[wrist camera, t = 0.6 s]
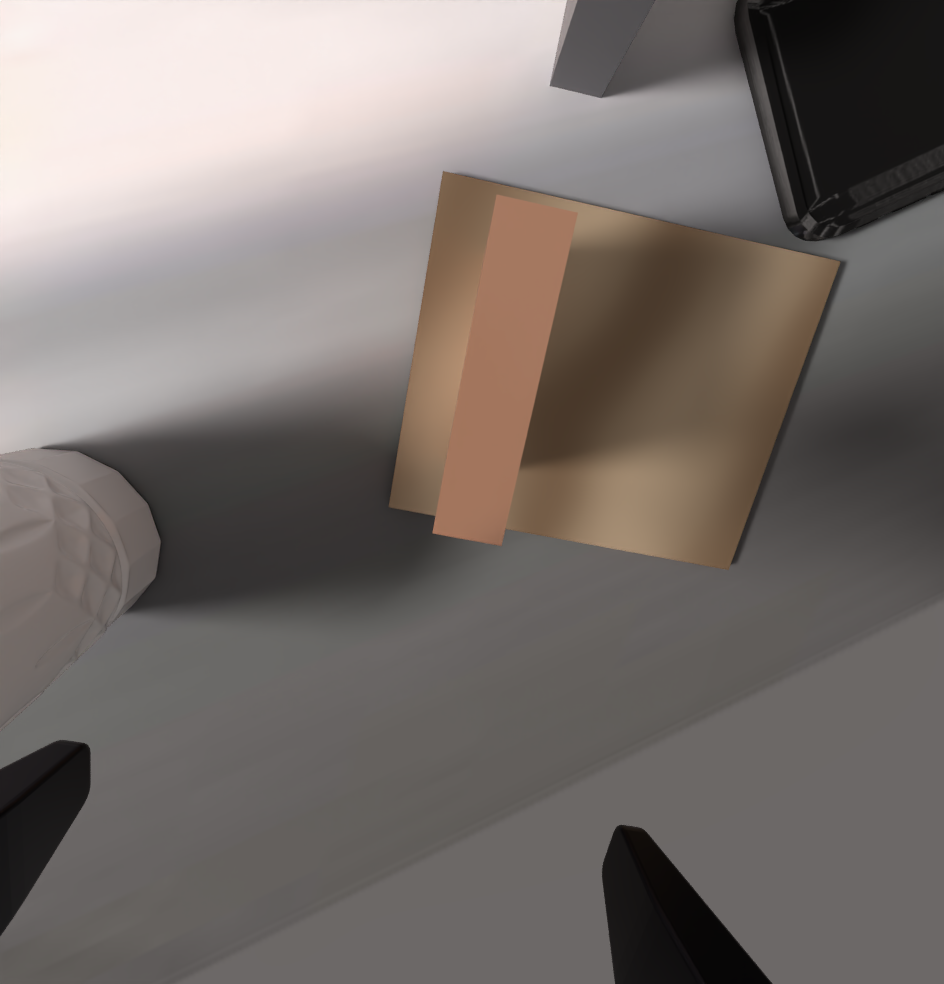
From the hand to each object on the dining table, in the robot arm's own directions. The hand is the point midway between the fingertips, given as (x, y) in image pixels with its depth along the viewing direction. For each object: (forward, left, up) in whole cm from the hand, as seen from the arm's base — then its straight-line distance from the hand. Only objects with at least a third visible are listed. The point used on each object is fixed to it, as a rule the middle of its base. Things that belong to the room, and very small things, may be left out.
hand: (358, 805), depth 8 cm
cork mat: (-5, -6, -12) cm, 15 cm away
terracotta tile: (-1, -6, -12) cm, 13 cm away
